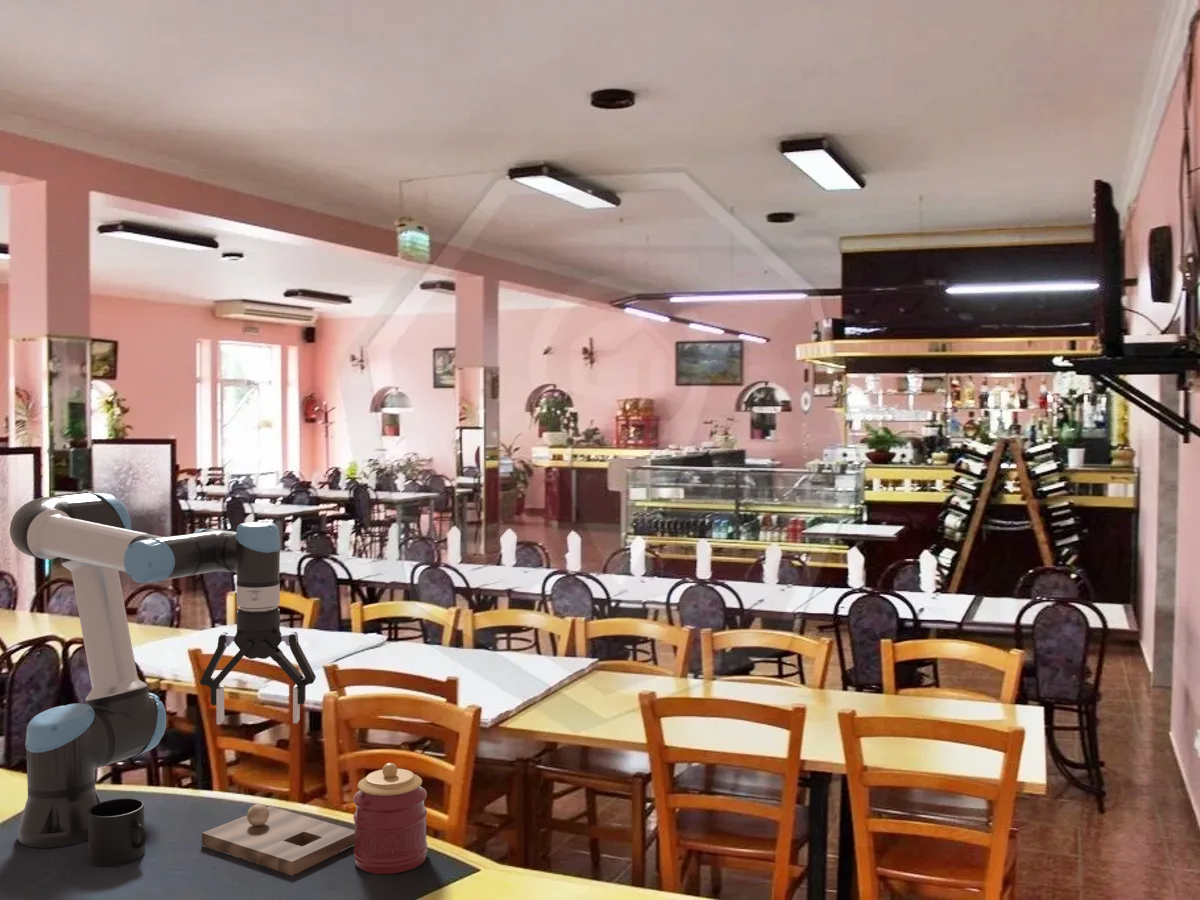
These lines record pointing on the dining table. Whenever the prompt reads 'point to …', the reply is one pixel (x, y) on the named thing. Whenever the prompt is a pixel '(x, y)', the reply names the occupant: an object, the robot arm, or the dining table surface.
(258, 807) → the ball
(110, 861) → the mug
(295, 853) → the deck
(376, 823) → the canister
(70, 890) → the dining table surface
